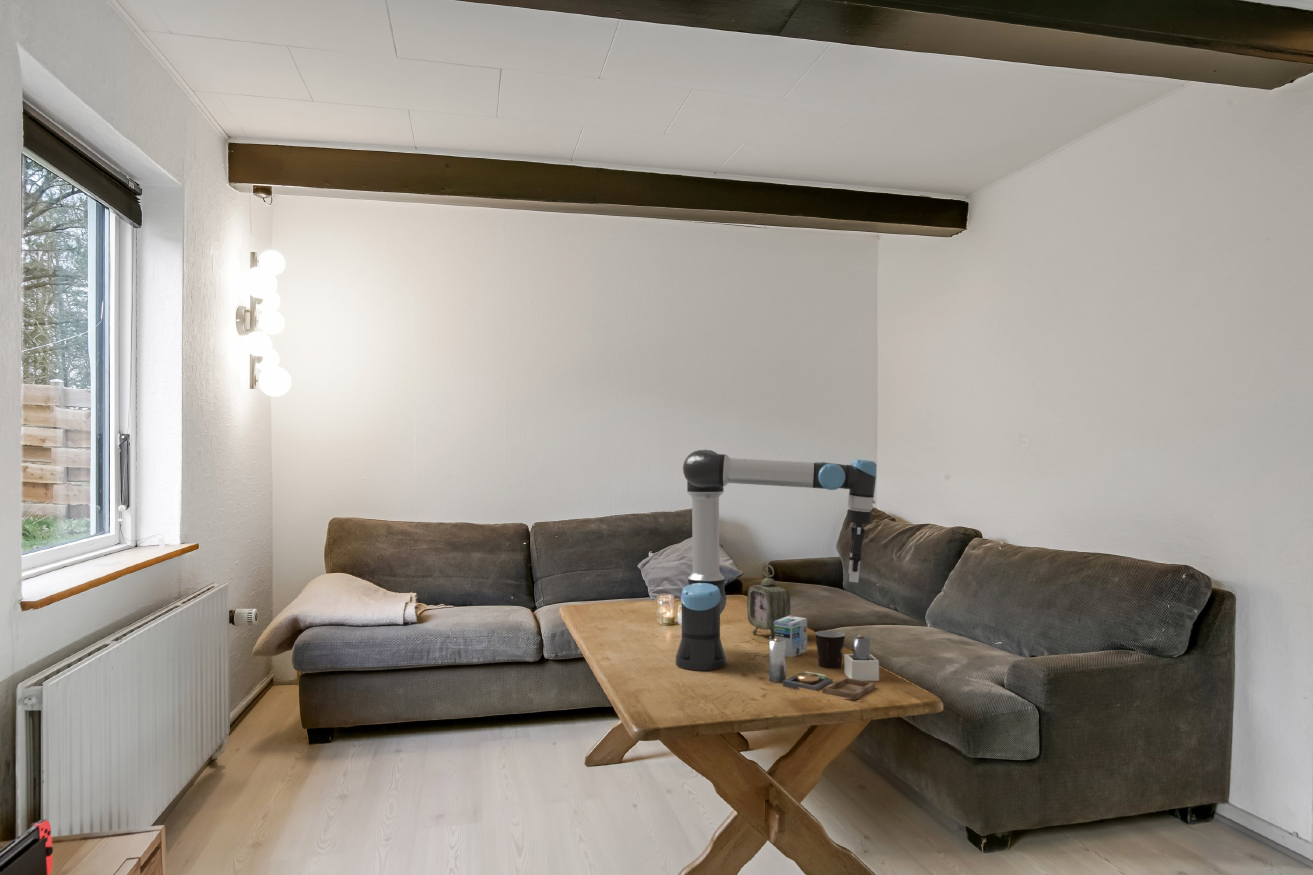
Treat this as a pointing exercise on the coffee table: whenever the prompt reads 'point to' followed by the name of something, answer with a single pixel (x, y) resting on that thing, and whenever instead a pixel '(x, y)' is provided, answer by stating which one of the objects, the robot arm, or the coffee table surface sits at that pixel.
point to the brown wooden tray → (849, 688)
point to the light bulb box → (792, 634)
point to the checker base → (795, 684)
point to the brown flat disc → (808, 678)
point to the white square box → (862, 668)
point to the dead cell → (861, 648)
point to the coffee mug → (830, 648)
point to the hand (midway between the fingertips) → (853, 577)
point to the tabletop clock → (767, 603)
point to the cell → (777, 660)
